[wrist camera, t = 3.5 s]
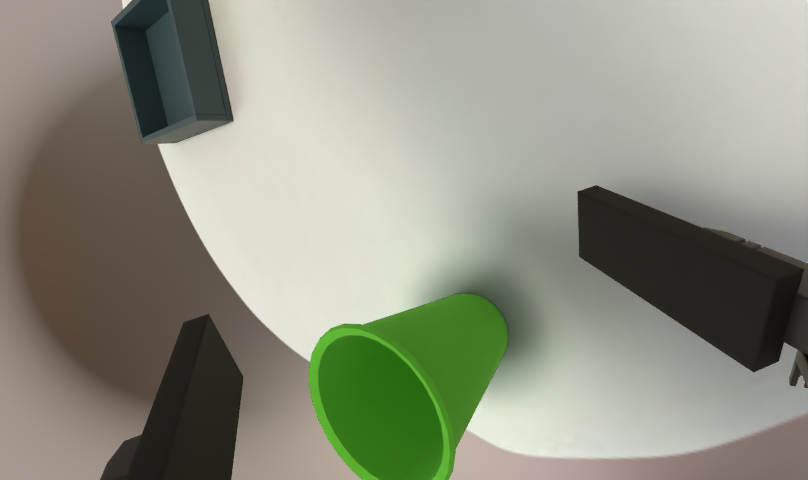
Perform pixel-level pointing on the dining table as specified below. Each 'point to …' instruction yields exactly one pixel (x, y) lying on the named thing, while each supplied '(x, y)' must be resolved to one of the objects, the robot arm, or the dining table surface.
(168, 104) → the holder
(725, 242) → the robot arm
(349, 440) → the cup
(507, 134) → the dining table surface
